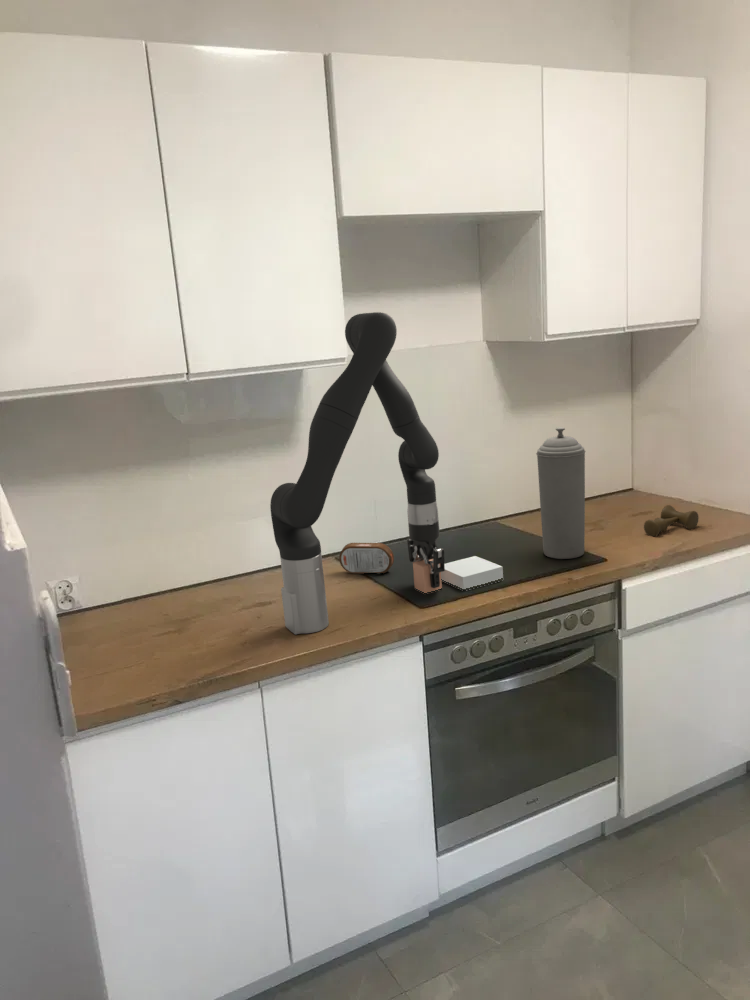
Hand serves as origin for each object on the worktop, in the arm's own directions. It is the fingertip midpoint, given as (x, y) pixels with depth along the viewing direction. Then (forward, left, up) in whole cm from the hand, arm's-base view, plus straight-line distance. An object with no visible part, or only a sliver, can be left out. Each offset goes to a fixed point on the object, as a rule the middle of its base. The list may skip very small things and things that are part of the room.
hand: (427, 583), depth 197 cm
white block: (+12, -1, -2) cm, 12 cm away
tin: (-6, +22, -2) cm, 23 cm away
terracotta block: (0, 0, -2) cm, 2 cm away
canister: (+43, -1, -2) cm, 43 cm away
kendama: (+81, -4, -2) cm, 82 cm away
